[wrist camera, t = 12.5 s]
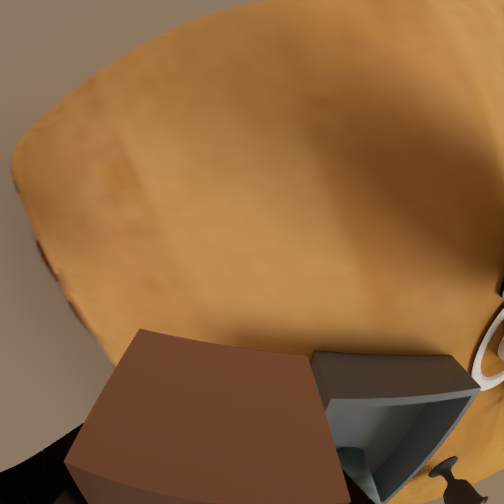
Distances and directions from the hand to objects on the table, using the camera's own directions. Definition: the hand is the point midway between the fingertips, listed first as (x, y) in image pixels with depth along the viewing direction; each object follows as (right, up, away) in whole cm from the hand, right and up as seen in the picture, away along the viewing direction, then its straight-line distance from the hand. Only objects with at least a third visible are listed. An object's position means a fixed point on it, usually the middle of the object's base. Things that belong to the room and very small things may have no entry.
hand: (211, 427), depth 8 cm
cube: (0, 0, +1) cm, 1 cm away
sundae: (+29, -26, +19) cm, 43 cm away
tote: (+11, -11, +14) cm, 21 cm away
